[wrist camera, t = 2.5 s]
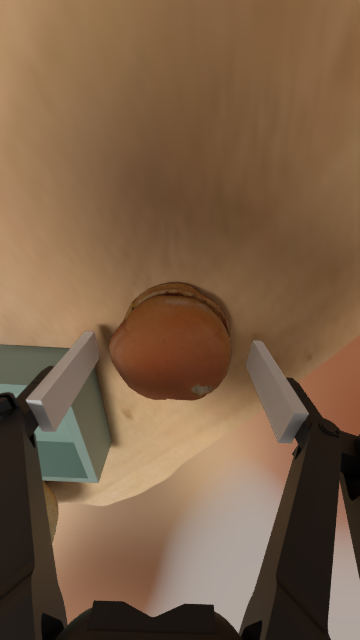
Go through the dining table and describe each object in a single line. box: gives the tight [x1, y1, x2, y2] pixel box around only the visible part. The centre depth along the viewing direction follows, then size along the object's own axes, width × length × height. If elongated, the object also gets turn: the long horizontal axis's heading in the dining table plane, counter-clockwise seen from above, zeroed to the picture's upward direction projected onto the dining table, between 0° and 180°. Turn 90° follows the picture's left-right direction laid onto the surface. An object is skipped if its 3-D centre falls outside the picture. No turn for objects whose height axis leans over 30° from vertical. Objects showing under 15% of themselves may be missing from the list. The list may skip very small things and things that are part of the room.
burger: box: [109, 283, 231, 400], centre depth 15 cm, size 10×9×5 cm
